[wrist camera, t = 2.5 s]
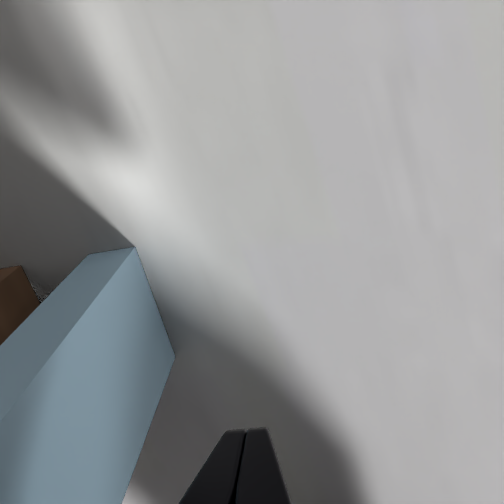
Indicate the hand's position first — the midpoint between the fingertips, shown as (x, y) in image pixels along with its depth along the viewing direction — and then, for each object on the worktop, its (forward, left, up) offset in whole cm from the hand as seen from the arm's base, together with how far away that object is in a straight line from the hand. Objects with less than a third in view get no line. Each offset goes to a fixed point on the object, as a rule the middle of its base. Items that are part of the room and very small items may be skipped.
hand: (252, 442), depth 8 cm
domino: (+4, +3, -6) cm, 7 cm away
